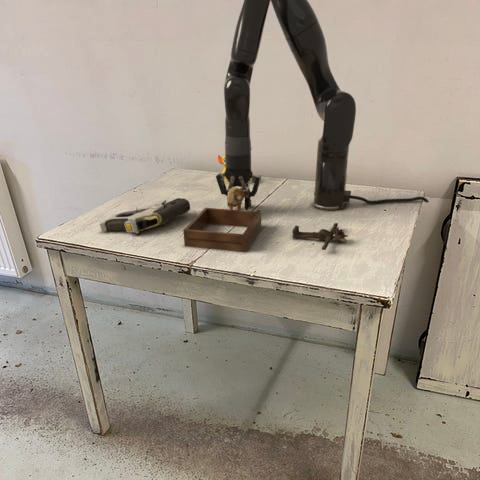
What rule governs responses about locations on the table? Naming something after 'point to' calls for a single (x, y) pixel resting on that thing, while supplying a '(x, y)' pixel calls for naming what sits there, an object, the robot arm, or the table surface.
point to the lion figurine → (235, 198)
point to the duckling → (222, 161)
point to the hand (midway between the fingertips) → (239, 208)
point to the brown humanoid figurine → (322, 235)
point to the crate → (221, 239)
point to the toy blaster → (146, 216)
